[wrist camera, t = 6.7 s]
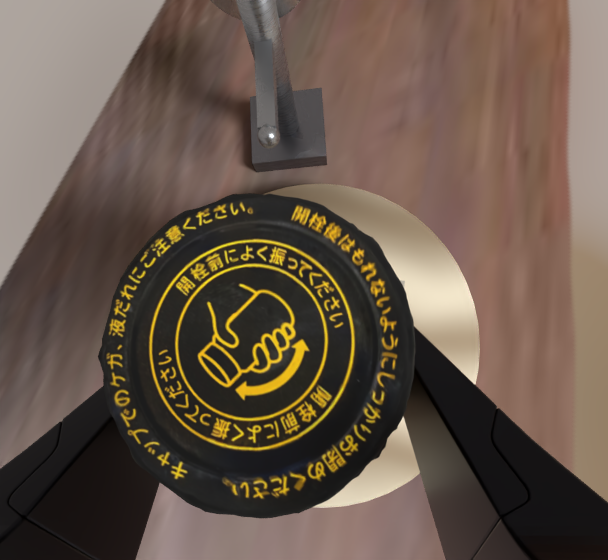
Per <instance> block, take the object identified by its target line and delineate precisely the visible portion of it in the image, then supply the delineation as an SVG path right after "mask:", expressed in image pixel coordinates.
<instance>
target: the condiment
mask: <svg viewBox="0 0 608 560" xmlns="http://www.w3.org/2000/svg"><path fill="white" fill-rule="evenodd" d="M404 286H405V281H402V280H399V278H398V277H397V275H396V274H395V272H394V270H393V268H392V267H391V265H390V263H389V262H388V260H387V259H386V257H385V255H384V252H383V251H382V249H381V247H380V245H379V244H378V243H377V242H376V240H375V239H374V238H373V237H371V236H369V235H367V234H365V233H363V232H362V231H361V230H359V229H358V228H357V227H356V226H355V225H354V224H353V223H350V222H348V221H347V220H345V219H343V218H342V217H340V216H339V215H337V214H335V213H334V212H332V211H331V210H329V209H328V208H327V207H325V206H324V205H321V204H318V203H316V202H312V201H309V200H305V199H300V198H295V197H286V196H280V195H275V194H265V195H262V194H233V195H230V196H227V197H225V198H223V199H221V200H218V201H216V202H214V203H211V204H209V205H206V206H203V207H200V208H197V209H193V210H188V211H184V212H183V213H181V214H179V215H178V216H176V217H175V218H173V219H172V220H170V221H169V222H168V223H167V224H166V225H165V226H164V227H162V228H161V229H160V230H159V231H158V232H157V233H156V234H155V235H154V236H153V237H151V238H150V240H149V241H148V242H147V243H146V245H145V246H144V247H143V248H142V249H141V251H140V252H139V253H138V254H137V255H136V257H135V258H134V259H133V261H132V262H131V263H130V265H129V266H128V268H127V269H126V271H125V272H124V274H123V276H122V277H121V279H120V282H119V284H118V287H117V289H116V292H115V294H114V296H113V300H112V304H111V309H110V313H109V317H108V320H107V323H106V327H105V331H104V334H103V338H102V347H101V349H100V351H99V355H98V358H99V361H100V363H101V367H102V370H103V373H104V379H103V382H104V393H105V398H106V402H107V405H108V409H109V412H110V413H111V415H112V417H113V418H114V420H115V422H116V425H117V427H118V430H119V432H120V434H121V436H122V438H123V439H124V440H125V442H126V443H127V445H128V447H129V449H130V452H131V455H132V458H133V459H134V461H135V462H136V463H137V464H138V465H139V466H140V467H141V468H143V469H144V470H146V471H147V472H149V473H150V474H151V475H152V476H153V477H154V478H155V479H156V480H157V481H159V482H160V483H162V484H163V485H164V486H166V487H167V488H169V489H170V490H171V491H173V492H174V493H175V494H177V495H178V496H179V497H181V498H182V499H183V500H184V501H186V502H187V503H189V504H191V505H193V506H195V507H198V508H200V509H202V510H204V511H205V512H210V513H215V514H231V515H237V516H242V517H254V518H273V517H278V516H282V515H288V514H292V513H300V512H302V511H304V510H307V509H309V508H311V507H314V506H316V505H319V504H321V503H323V502H325V501H327V500H329V499H330V498H332V497H333V496H334V495H336V494H337V493H338V492H340V491H341V490H342V489H343V488H344V487H345V486H346V485H347V484H348V483H349V482H351V481H352V480H353V479H354V478H356V477H358V476H359V475H360V474H361V473H362V471H363V470H364V469H365V467H366V466H367V465H368V464H369V463H370V462H371V461H372V460H374V459H377V458H379V457H380V454H381V452H382V450H383V449H384V448H385V447H386V443H387V438H388V437H389V436H390V435H391V433H392V432H393V431H395V430H396V429H397V427H398V425H399V423H400V422H401V420H402V418H403V416H404V413H405V411H406V408H407V401H408V399H409V397H410V391H411V387H412V382H413V378H414V364H415V353H416V351H415V333H414V321H413V317H412V314H411V312H410V308H409V304H408V300H407V295H406V291H405V289H404Z"/></svg>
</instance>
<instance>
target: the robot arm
mask: <svg viewBox="0 0 608 560" xmlns="http://www.w3.org/2000/svg"><path fill="white" fill-rule="evenodd" d="M414 333H415V351H416V353H415V364H414V378H413V382H412V387H411V391H410V397H409V399H408V401H407V408H406V411H405V413H404V420H405V423H406V427H407V430H408V433H409V437H410V440H411V443H412V447H413V450H414V454H415V457H416V460H417V464H418V467H419V470H420V474H421V477H422V481H423V484H424V487H425V491H426V494H427V498H428V501H429V504H430V508H431V511H432V514H433V518H434V521H435V525H436V528H437V531H438V535H439V538H440V541H441V545H442V548H443V552H444V555H445V558H446V560H608V502H607V501H605V500H604V499H603V498H602V497H601V496H599V495H598V494H597V493H596V492H595V491H593V490H592V489H591V488H590V487H588V486H587V485H586V484H585V483H584V482H582V481H581V480H580V479H579V478H578V477H576V476H575V475H574V474H573V473H572V472H570V471H569V470H568V469H567V468H565V467H564V466H563V465H562V464H561V463H559V462H558V461H557V460H556V459H555V458H554V457H552V456H551V455H550V454H549V453H548V452H546V451H545V450H544V449H543V448H542V447H541V446H539V445H538V444H537V443H536V442H535V441H534V440H533V439H531V438H530V437H529V436H528V435H527V434H526V433H525V432H524V431H523V430H522V429H521V428H520V427H518V426H517V425H516V424H515V423H514V422H513V421H512V420H511V419H510V418H509V417H508V416H507V415H506V414H505V413H504V412H503V411H502V410H501V409H499V408H498V409H497V406H496V405H495V404H494V403H493V402H492V401H491V400H490V399H489V398H488V397H487V396H486V395H485V394H484V393H483V392H482V391H481V390H480V389H479V388H478V387H477V386H476V385H475V384H474V383H473V382H472V381H471V380H469V379H468V378H467V377H466V376H465V375H464V374H463V373H462V372H461V371H460V370H459V369H458V368H457V367H456V366H455V365H454V364H453V363H452V362H451V361H450V360H449V359H448V358H447V357H446V356H445V355H444V354H443V353H442V352H441V351H440V350H438V349H437V348H436V347H435V346H434V345H433V344H432V343H431V342H430V341H429V340H428V339H427V338H426V337H425V336H424V335H423V334H422V333H421V332H420V331H419V330H418V329H417V328H416V327H415V326H414ZM159 483H160V482H159V481H157V480H156V479H155V478H154V477H153V476H152V475H151V474H150V473H149V472H147V471H146V470H144V469H143V468H141V467H140V466H139V465H138V464H137V463H136V462H135V461H134V459H133V458H132V455H131V452H130V449H129V447H128V445H127V443H126V442H125V440H124V439H123V438H122V436H121V434H120V432H119V430H118V427H117V425H116V422H115V420H114V418H113V417H112V415H111V413H110V412H109V409H108V405H107V402H106V398H105V393H104V386H103V387H101V388H100V389H99V390H98V391H97V392H95V393H94V394H93V395H92V396H91V397H89V398H88V399H87V400H86V401H85V402H83V403H82V404H81V405H80V406H78V407H77V408H76V409H75V410H74V411H72V412H71V413H70V414H69V415H68V416H66V417H65V418H64V419H63V421H62V422H59V423H58V424H57V425H55V426H54V427H53V428H52V429H51V430H49V431H48V432H47V433H46V434H44V435H43V436H42V437H41V438H39V439H38V440H37V441H36V442H34V443H33V444H32V445H31V446H29V447H28V448H27V449H26V450H24V451H23V452H22V453H21V454H19V455H18V456H17V457H15V458H14V459H13V460H11V461H10V462H9V463H7V464H6V465H5V466H3V467H2V468H1V469H0V560H135V559H136V556H137V553H138V550H139V547H140V544H141V540H142V537H143V534H144V531H145V528H146V524H147V521H148V518H149V515H150V512H151V509H152V505H153V502H154V499H155V496H156V493H157V490H158V486H159Z"/></svg>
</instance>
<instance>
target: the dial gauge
mask: <svg viewBox="0 0 608 560" xmlns="http://www.w3.org/2000/svg"><path fill="white" fill-rule="evenodd" d="M211 1H212V2H213V3H214V4H215V5H216V6H217V7H218V8H219V9H221V10H222V11H224V12H225V13H227V14H228V15H230V16H232V17H234V18H237V19H239V20H242V22H243V25H244V28H245V31H246V35H247V38H248V41H249V44H250V47H251V51H252V54H253V57H254V60H255V77H256V96H253V97H250V113H251V143H252V164H253V166H254V168H255V170H256V172H263V171H272V170H282V169H291V168H301V167H310V166H320V165H327V159H326V145H325V131H324V117H323V103H322V89H321V88H316V89H308V90H300V91H292V85H291V80H290V75H289V70H288V64H287V59H286V54H285V48H284V43H283V38H282V33H281V27H280V22H279V18H280V17H282V16H284V15H286V14H287V13H289V12H290V11H291V10H292V9H293V8H294V7H295V6H296V5H297V4H298V3H299V2H300V0H211Z"/></svg>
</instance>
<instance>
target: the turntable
mask: <svg viewBox="0 0 608 560" xmlns="http://www.w3.org/2000/svg"><path fill="white" fill-rule="evenodd" d="M265 194H275V195H280V196H286V197H295V198H300V199H305V200H309V201H312V202H316V203H318V204H321V205H324V206H325V207H327V208H328V209H329V210H331V211H332V212H334V213H335V214H337V215H339V216H340V217H342V218H343V219H345V220H347V221H348V222H350V223H353V224H354V225H355V226H356V227H357V228H358V229H359V230H361V231H362V232H363V233H365V234H367V235H369V236H371V237H373V238H374V239H375V240H376V242H377V243H378V244H379V245H380V247H381V249H382V251H383V252H384V255H385V257H386V259H387V260H388V262H389V263H390V265H391V267H392V268H393V270H394V272H395V274H396V275H397V277H398V278H399V280H402V281H405V286H404V289H405V291H406V295H407V300H408V304H409V308H410V312H411V314H412V317H413V321H414V326H415V327H416V328H417V329H418V330H419V331H420V332H421V333H422V334H423V335H424V336H425V337H426V338H427V339H428V340H429V341H430V342H431V343H432V344H433V345H434V346H435V347H436V348H437V349H438V350H440V351H441V352H442V353H443V354H444V355H445V356H446V357H447V358H448V359H449V360H450V361H451V362H452V363H453V364H454V365H455V366H456V367H457V368H458V369H459V370H460V371H461V372H462V373H463V374H464V375H465V376H466V377H467V378H468V379H469V380H471V381H472V382H473V383H474V384H475V383H476V379H477V374H478V368H479V353H480V342H479V327H478V321H477V316H476V311H475V306H474V302H473V299H472V296H471V294H470V291H469V288H468V285H467V282H466V280H465V278H464V276H463V274H462V272H461V270H460V268H459V266H458V264H457V263H456V261H455V260H454V258H453V257H452V255H451V254H450V252H449V251H448V249H447V248H446V247H445V245H444V244H443V243H442V242H441V241H440V240H439V238H438V237H437V236H436V235H435V234H434V233H433V232H432V231H431V230H430V229H429V228H428V227H427V226H426V225H425V224H423V223H422V222H421V221H420V220H419V219H418V218H417V217H415V216H414V215H412V214H411V213H409V212H408V211H406V210H405V209H403V208H402V207H401V206H399V205H397V204H395V203H393V202H391V201H389V200H387V199H385V198H383V197H381V196H379V195H376V194H373V193H370V192H367V191H364V190H361V189H357V188H352V187H347V186H343V185H332V184H303V185H297V186H291V187H285V188H281V189H278V190H274V191H271V192H268V193H265ZM265 194H263V195H265ZM419 473H420V470H419V467H418V464H417V460H416V457H415V454H414V450H413V447H412V443H411V440H410V437H409V433H408V430H407V427H406V423H405V420H404V416H403V418H402V420H401V422H400V423H399V425H398V427H397V429H396V430H395V431H393V432H392V433H391V435H390V436H389V437H388V438H387V443H386V447H385V448H384V449H383V450H382V452H381V454H380V457H379V458H377V459H374V460H372V461H371V462H370V463H369V464H368V465H367V466H366V467H365V469H364V470H363V471H362V473H361V474H360V475H359V476H358V477H356V478H354V479H353V480H352V481H351V482H349V483H348V484H347V485H346V486H345V487H344V488H343V489H342V490H341V491H340V492H338V493H337V494H336V495H334V496H333V497H332V498H330V499H329V500H327V501H325V502H323V503H321V504H319V505H316V506H314V507H318V508H327V507H340V506H348V505H352V504H357V503H361V502H366V501H369V500H372V499H374V498H377V497H380V496H382V495H385V494H387V493H389V492H391V491H393V490H395V489H397V488H398V487H400V486H402V485H404V484H406V483H407V482H409V481H410V480H411V479H413V478H414V477H415V476H417V475H418V474H419Z"/></svg>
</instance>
